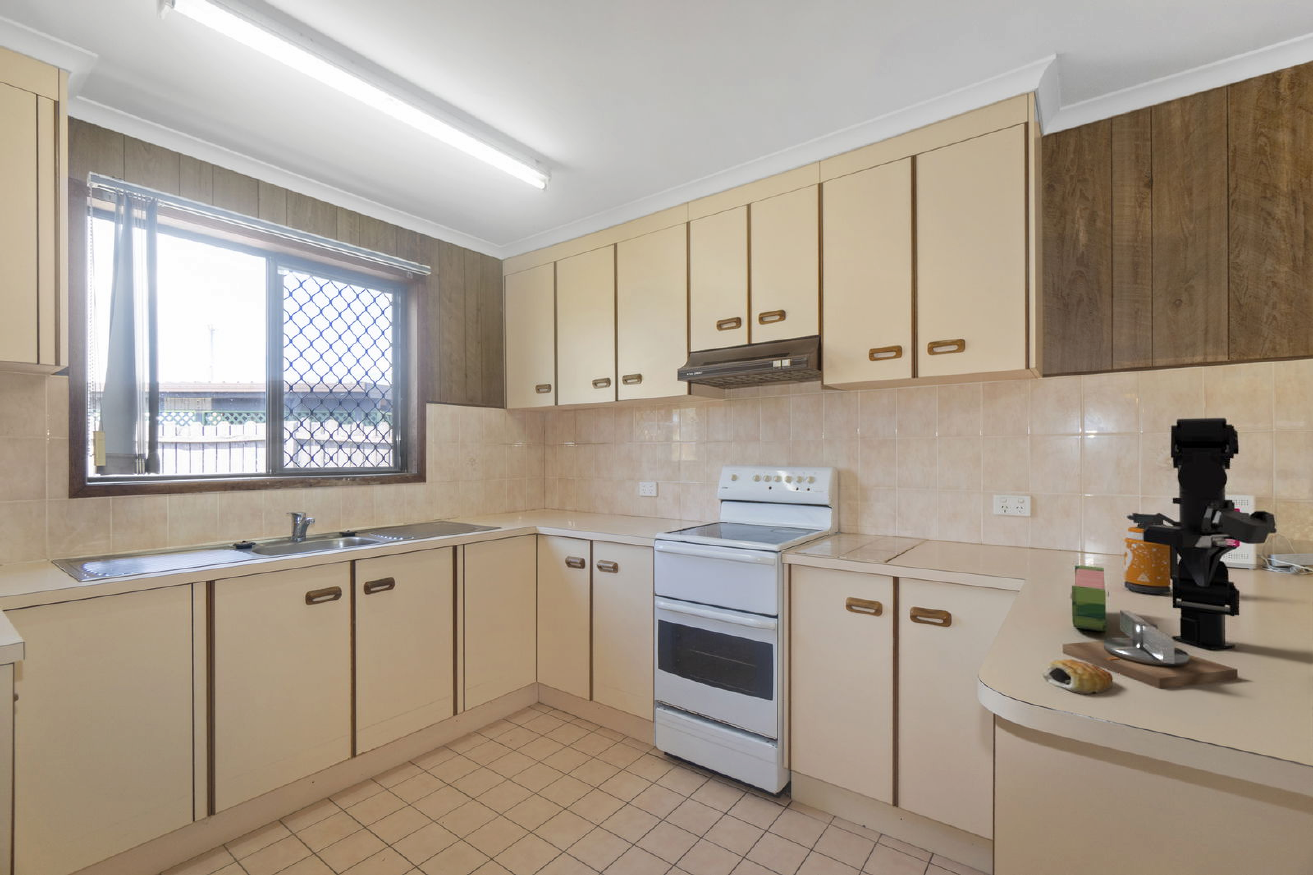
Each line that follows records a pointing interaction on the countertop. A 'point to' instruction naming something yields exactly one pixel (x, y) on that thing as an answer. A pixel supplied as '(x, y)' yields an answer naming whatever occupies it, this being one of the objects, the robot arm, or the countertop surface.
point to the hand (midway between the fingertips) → (1202, 586)
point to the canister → (1148, 558)
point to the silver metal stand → (1144, 643)
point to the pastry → (1077, 676)
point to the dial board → (1152, 667)
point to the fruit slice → (1089, 598)
